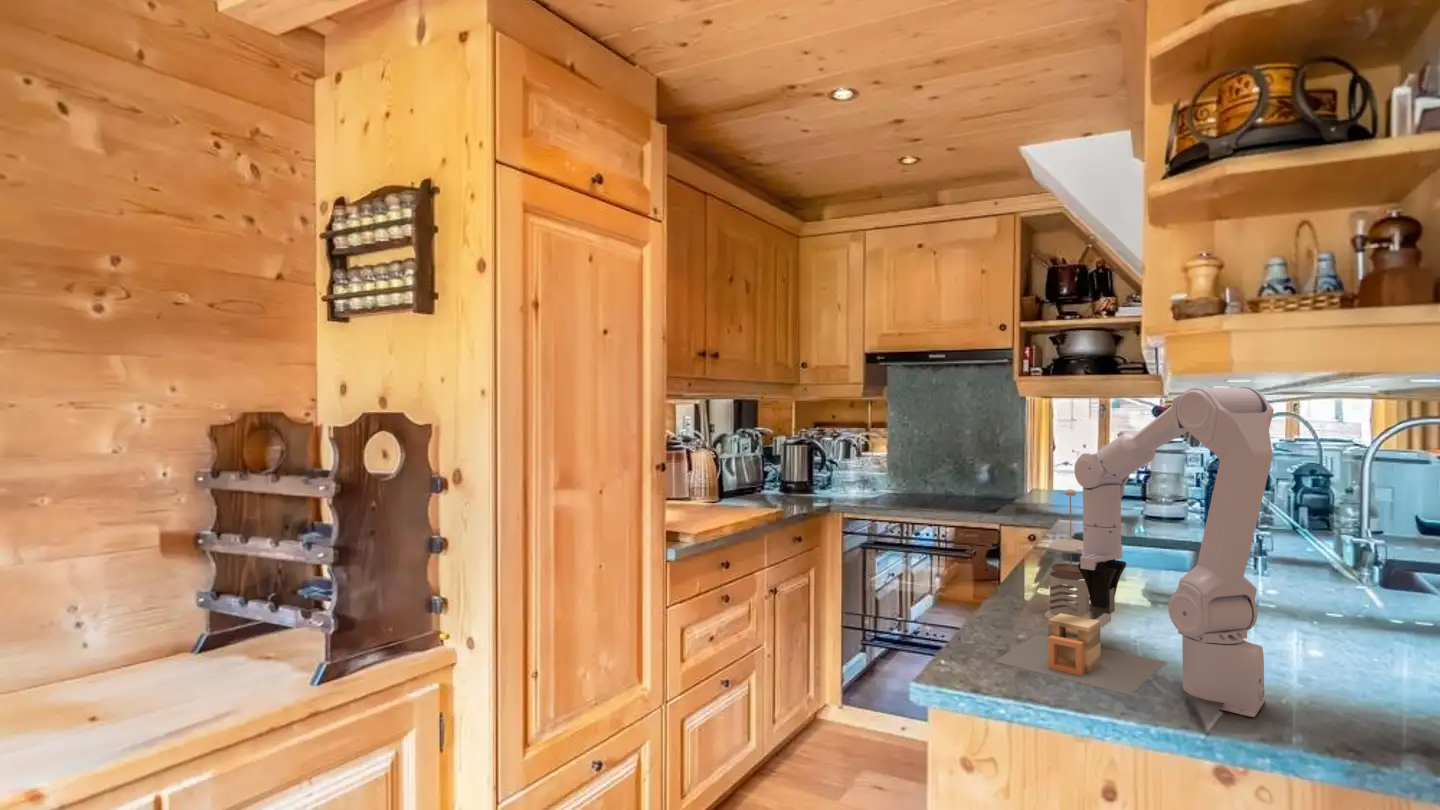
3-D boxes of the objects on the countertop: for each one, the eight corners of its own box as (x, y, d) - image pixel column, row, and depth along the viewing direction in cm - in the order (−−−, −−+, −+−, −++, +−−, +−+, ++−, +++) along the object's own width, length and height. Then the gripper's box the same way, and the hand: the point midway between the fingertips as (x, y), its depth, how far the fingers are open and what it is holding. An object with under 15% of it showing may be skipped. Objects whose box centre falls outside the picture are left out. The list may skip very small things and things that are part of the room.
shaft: (1114, 621, 126) (1114, 587, 125) (1082, 643, 115) (1081, 605, 115) (1095, 617, 128) (1095, 584, 128) (1062, 638, 117) (1061, 602, 117)
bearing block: (1100, 665, 116) (1100, 620, 116) (1089, 674, 113) (1088, 627, 113) (1061, 656, 120) (1060, 613, 120) (1048, 664, 117) (1048, 620, 117)
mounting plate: (1166, 668, 117) (1166, 661, 117) (1130, 702, 105) (1130, 695, 105) (1038, 640, 131) (1038, 634, 131) (993, 667, 119) (992, 661, 119)
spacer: (1084, 673, 113) (1084, 641, 113) (1081, 675, 112) (1080, 644, 112) (1052, 665, 116) (1051, 635, 116) (1048, 668, 115) (1048, 637, 115)
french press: (1062, 607, 152) (1061, 485, 152) (1119, 621, 142) (1118, 490, 142) (1033, 615, 146) (1032, 488, 146) (1090, 630, 137) (1089, 494, 136)
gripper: (1091, 517, 134) (1092, 592, 134) (1060, 527, 123) (1061, 609, 123) (1135, 521, 129) (1135, 599, 129) (1106, 532, 118) (1107, 618, 118)
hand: (1102, 605), depth 126 cm, fingers closed on shaft, 2 cm apart
